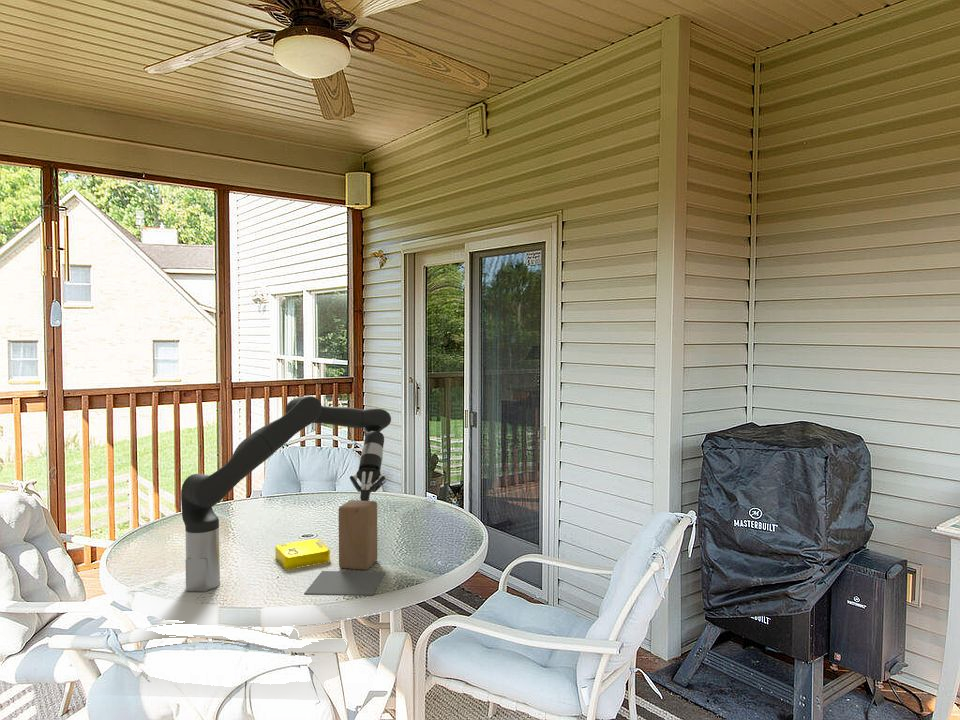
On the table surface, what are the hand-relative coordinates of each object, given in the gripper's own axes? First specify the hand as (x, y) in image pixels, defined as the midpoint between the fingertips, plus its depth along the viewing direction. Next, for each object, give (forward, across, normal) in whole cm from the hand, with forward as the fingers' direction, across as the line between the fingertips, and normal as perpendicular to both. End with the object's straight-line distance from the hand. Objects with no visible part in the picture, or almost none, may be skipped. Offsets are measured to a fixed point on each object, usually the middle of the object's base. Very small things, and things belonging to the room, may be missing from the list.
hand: (364, 501), depth 223 cm
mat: (+31, 0, -5) cm, 31 cm away
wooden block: (+20, 0, +7) cm, 21 cm away
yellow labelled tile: (+17, -20, +10) cm, 28 cm away
